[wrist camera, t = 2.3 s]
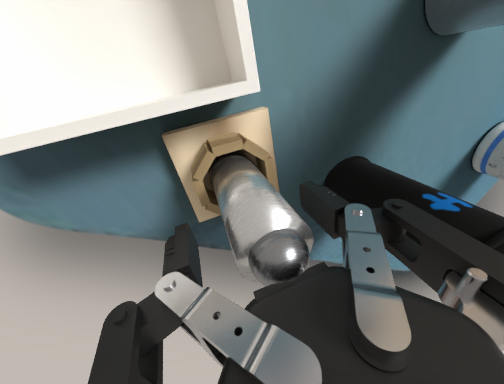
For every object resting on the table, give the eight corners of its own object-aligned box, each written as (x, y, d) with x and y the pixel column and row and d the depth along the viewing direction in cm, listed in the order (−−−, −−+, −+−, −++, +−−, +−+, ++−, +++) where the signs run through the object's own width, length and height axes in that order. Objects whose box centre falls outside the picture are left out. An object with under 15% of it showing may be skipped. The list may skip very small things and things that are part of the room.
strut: (246, 143, 20) (338, 226, 8) (255, 182, 22) (335, 290, 10) (201, 156, 19) (232, 268, 7) (215, 195, 21) (254, 326, 10)
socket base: (262, 106, 20) (281, 111, 16) (275, 189, 25) (291, 207, 21) (163, 132, 18) (158, 144, 15) (198, 215, 24) (201, 240, 20)
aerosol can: (342, 215, 31) (525, 364, 15) (311, 193, 27) (516, 365, 11) (380, 174, 30) (637, 290, 13) (353, 143, 26) (679, 256, 9)
